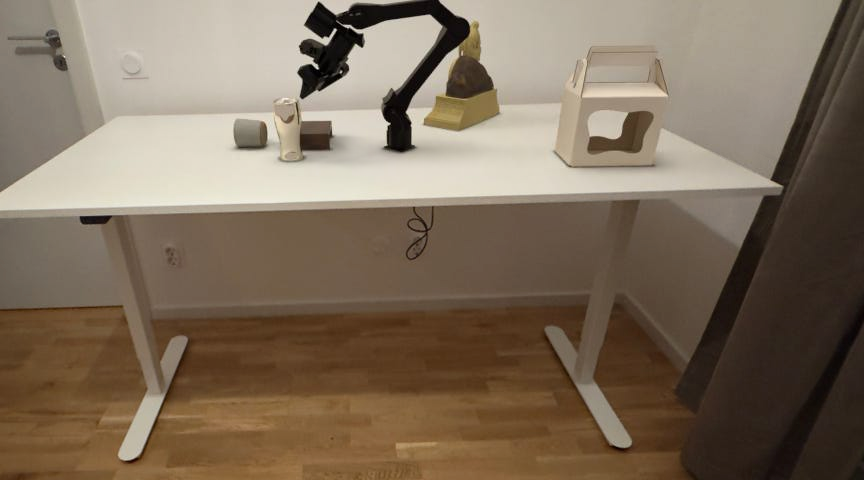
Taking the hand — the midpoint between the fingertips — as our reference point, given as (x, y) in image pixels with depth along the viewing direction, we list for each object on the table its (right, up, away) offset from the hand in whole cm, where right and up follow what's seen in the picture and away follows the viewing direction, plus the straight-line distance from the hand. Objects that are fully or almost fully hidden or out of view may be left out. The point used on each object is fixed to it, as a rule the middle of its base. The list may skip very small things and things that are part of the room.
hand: (309, 94), depth 147 cm
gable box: (+79, -19, -4) cm, 81 cm away
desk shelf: (-1, -11, +9) cm, 14 cm away
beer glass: (-4, -18, -3) cm, 19 cm away
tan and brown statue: (+46, +2, +33) cm, 57 cm away
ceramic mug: (-18, -12, +7) cm, 23 cm away
